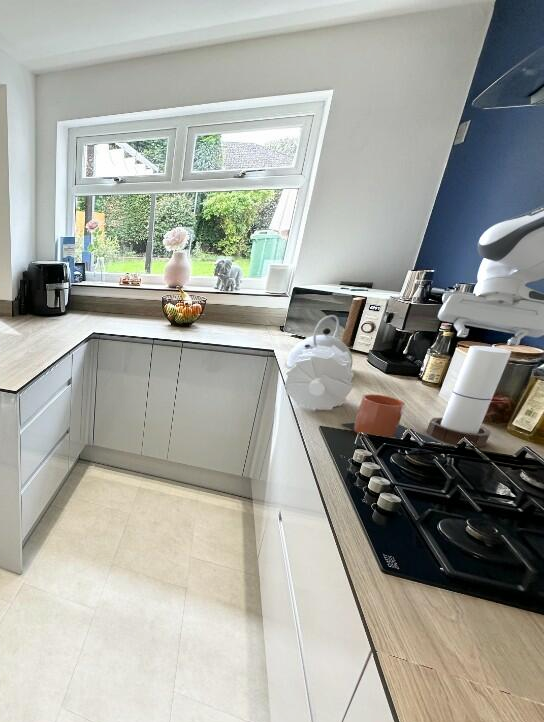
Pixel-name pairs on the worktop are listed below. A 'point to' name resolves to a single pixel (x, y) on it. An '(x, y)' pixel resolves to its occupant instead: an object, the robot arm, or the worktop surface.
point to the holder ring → (456, 433)
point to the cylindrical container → (475, 388)
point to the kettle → (319, 343)
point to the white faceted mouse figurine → (320, 378)
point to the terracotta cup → (378, 415)
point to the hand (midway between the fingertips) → (487, 340)
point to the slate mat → (398, 432)
